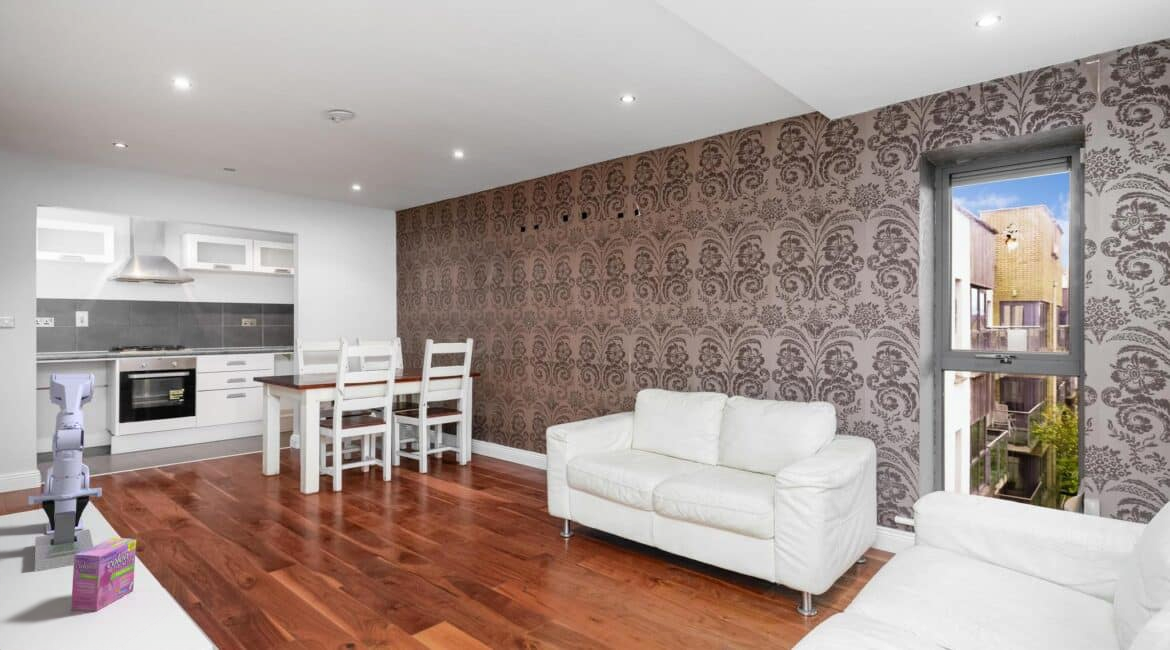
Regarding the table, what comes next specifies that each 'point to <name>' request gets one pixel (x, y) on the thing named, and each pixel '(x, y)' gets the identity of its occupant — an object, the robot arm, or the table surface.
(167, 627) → the table surface
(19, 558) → the table surface
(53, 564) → the plate
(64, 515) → the grey rectangular block
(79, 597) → the box
